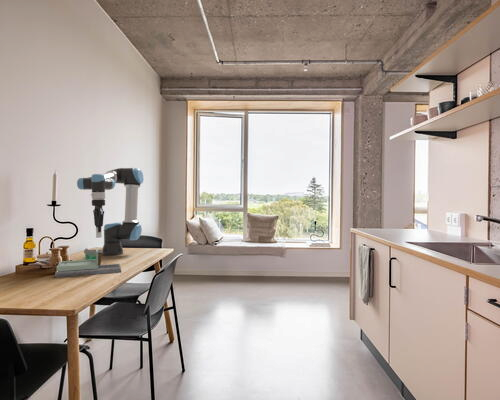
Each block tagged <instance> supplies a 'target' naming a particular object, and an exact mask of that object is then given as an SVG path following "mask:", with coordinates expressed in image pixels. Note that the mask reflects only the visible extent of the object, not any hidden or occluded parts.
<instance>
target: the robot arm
mask: <svg viewBox="0 0 500 400" xmlns="http://www.w3.org/2000/svg"><path fill="white" fill-rule="evenodd" d="M143 183H144V174H143V172H142V170H141V169H140V168H137V167H129V168H128V167H125V168H124V167H123V168H122V167H119V168H115V169H111V170H108V171H106V172H104V173H102V174H101V173H94V174H92V175H91V176H89V177H80V178H78V179H77V181H76V187H77V188H78V189H79V190H87V191H88V190H91V194H90V196H91V206H92V207H94V209H93V222H94V226H95V237H96V239H97V238H98V239H99V238H102V237H103V246H102V255H103V256H118V255H119V254H120V255H123V254H124V249H123V246H122V241H137V240H138V239H140V237H141V235H142V225H141V224H139V223H140V222H139V221H138V201H139V200H138V199H139V197H138V196H139V188H140V187H141V184H143ZM116 184H123V186H124V187H125V202H124V203H125V208H124V220H122V222H112V223H106V224H104V216H105V210H104V209H103V207H104V206H106V200H105V199H106V192H105V191H108V190H109V191H110V190H113V189H114V188H115V186H116ZM103 226H104V227H103ZM102 227H103V233H102ZM102 234H103V236H102ZM102 255H101V256H102Z"/></svg>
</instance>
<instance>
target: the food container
mask: <svg viewBox="0 0 500 400" xmlns="http://www.w3.org/2000/svg"><path fill="white" fill-rule="evenodd" d="M102 249H103V248H102ZM102 249H101V248H100V249H98V265H102V264H101V263H102ZM83 254H84V256H85V257H84V258H85V259H84V260H92V259H96V249H88V247H87V248H85V249H84V250H83Z"/></svg>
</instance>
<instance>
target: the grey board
mask: <svg viewBox="0 0 500 400" xmlns="http://www.w3.org/2000/svg"><path fill="white" fill-rule="evenodd" d="M115 273H116V274H117V273H122V267H121V265H120V263H111V264H110V263H109V264H101V265H98V268H97V269H84V270H70V271H58V272H57V271H55V274H54V278H57V279H58V278H65V277H66V278H68V277H69V278H70V277H78V276H79V277H80V276H90V275H91V276H92V275H104V274H105V275H106V274H115Z"/></svg>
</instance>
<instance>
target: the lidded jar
mask: <svg viewBox="0 0 500 400" xmlns="http://www.w3.org/2000/svg"><path fill="white" fill-rule="evenodd" d="M51 254H52V253H49V252H48V251H47V252H45V253H42V254H37V255H36V262H37V261H45V260H47V259H48V258H49V257H50V256H51Z"/></svg>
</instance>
